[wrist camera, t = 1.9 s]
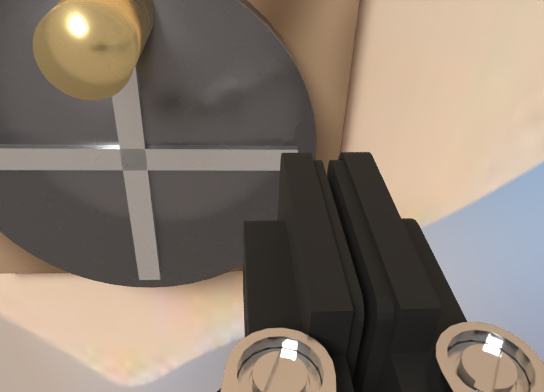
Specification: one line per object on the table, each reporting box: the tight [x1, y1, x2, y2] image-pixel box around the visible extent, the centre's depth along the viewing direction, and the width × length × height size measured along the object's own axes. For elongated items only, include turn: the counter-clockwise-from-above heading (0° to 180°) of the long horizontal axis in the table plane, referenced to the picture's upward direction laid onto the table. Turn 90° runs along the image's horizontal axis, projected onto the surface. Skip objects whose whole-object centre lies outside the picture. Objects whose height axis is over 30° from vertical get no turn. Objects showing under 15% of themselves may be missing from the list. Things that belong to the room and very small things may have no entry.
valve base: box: [0, 0, 360, 273], centre depth 29 cm, size 22×22×2 cm
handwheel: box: [0, 0, 317, 287], centre depth 24 cm, size 18×18×9 cm
